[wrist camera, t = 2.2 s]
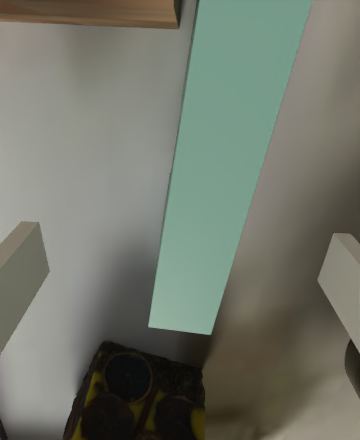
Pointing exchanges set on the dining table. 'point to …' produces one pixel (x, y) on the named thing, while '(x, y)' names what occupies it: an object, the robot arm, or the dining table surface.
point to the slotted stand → (94, 12)
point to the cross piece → (220, 150)
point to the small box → (2, 433)
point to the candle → (137, 399)
